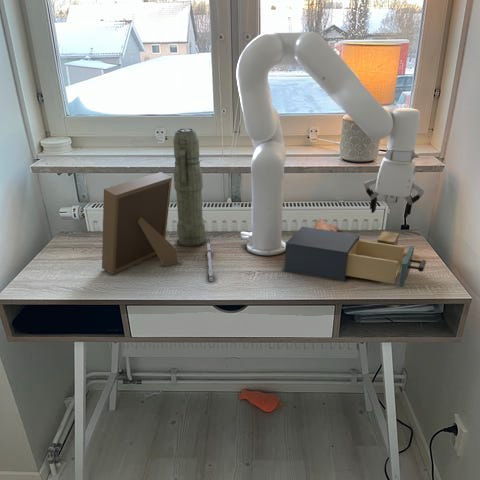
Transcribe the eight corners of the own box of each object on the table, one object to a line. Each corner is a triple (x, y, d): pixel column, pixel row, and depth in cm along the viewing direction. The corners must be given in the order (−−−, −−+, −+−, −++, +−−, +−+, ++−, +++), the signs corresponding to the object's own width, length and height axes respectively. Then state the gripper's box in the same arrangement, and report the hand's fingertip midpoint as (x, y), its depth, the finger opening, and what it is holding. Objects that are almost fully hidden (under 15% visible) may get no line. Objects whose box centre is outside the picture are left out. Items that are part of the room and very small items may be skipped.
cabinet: (356, 261, 156) (359, 234, 152) (344, 281, 145) (347, 252, 140) (300, 252, 162) (302, 226, 158) (284, 270, 151) (285, 242, 147)
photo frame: (102, 271, 152) (89, 185, 139) (154, 247, 167) (146, 169, 154) (138, 283, 144) (128, 194, 132) (189, 258, 159) (184, 176, 147)
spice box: (375, 256, 159) (377, 239, 157) (380, 247, 166) (382, 231, 163) (391, 259, 158) (394, 242, 155) (396, 249, 164) (399, 233, 161)
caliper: (206, 253, 162) (206, 234, 159) (210, 253, 163) (209, 234, 159) (209, 281, 145) (208, 261, 142) (213, 281, 145) (212, 260, 142)
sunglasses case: (339, 247, 164) (329, 229, 162) (319, 257, 167) (309, 239, 165) (339, 228, 180) (331, 211, 177) (321, 237, 182) (312, 221, 180)
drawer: (425, 270, 148) (429, 248, 145) (418, 290, 137) (423, 266, 134) (353, 259, 155) (356, 237, 152) (342, 276, 145) (344, 254, 141)
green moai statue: (175, 247, 167) (167, 133, 149) (180, 234, 177) (173, 126, 160) (203, 248, 166) (198, 133, 149) (206, 234, 177) (202, 126, 159)
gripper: (432, 156, 147) (421, 214, 155) (371, 149, 153) (363, 206, 161) (429, 161, 141) (417, 222, 149) (365, 154, 147) (357, 213, 155)
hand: (389, 214), depth 155 cm, fingers open, 9 cm apart
